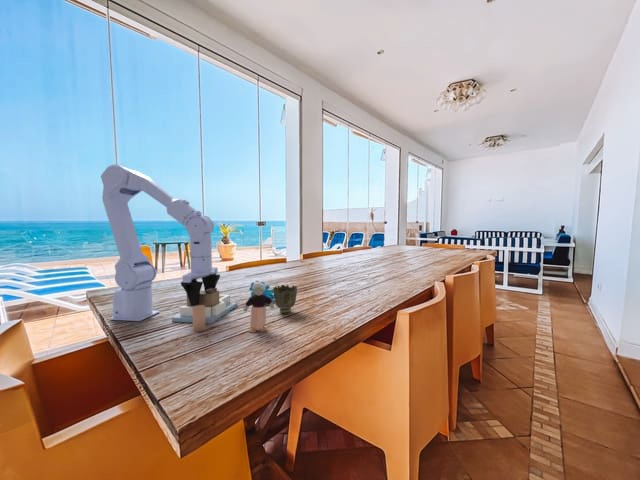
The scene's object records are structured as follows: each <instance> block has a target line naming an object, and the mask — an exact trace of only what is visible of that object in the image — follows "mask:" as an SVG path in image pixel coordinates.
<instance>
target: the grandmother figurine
mask: <svg viewBox="0 0 640 480" xmlns="http://www.w3.org/2000/svg"><path fill="white" fill-rule="evenodd" d="M261 282H262V281H261ZM261 282H260V281H259V282H256V281H254V284H253V287H252V289H253V291H254V294H255V295H253V296H251V295H250V298H248V300H247V301H246V302H245V305H244V307H243V312H244V313H245V312H247V311H248V309H249V307H250V306H252V307H251V311H250V320H249V321H250V322H249V323H250V325H249V326H250V328H249V329H248V333H249V334H251V333H253V334H254V333H256V332H257V330H258V332H266V331H267V327H266V319H267V318H266V317H267V315H266V314H267V313H266V312H267V310H266V304H269V305H268V306H269V308H270V309H274V308H275V305H274V302H273V303H272V300H271V299H270V298H269V297H267V296H265V295H262V294H263V292H264V291H265V287H266V286H265V284H263V283H261Z"/></svg>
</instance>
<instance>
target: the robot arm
mask: <svg viewBox="0 0 640 480" xmlns="http://www.w3.org/2000/svg"><path fill="white" fill-rule="evenodd" d="M100 179H101V183H102V185H103V189H102V196H101V197H102V198H101V199H102V203H103V206H104V209H105V212H106V216H107V219H108V223H109V226H110V229H111V232H112V235H113V238H114V242H115V245H116V248H117V249H116V250H117V252H118V255H119V259H118V260H117V262H116V263H115V265H114V269H115V274H114V281H115V283H116V285H117V286H118V288H117V289H116V290H115V291H114V293H113V295H112V317H110V320H111V321H128V322H129V321H130V322H140V321H143V320H145V319H147V318H150V317H152V316H154V315H156V314H159V313H160V310H153V309H154V308H153V286H152V285H153V281H154V280H155V279H156V278H157V277H156V276H157V270H156V267H155V266H154V265H153V264H152V262H151V260H150V258H149V257H148V256H147V255H145V254H144V253H143V252H142V247H141V244H140V242H139V241H140V240H139V237H138V234H137V232H136V227H135V225H134V224H135V223H134V221H133V218H132V214H131V211H130V210H131V209H130V207H129V204H128V203H129V202H130V201H131V199H133V198H134V197H136V196H137V195H138V194H139V193H142V192H144V193H145V194H147V195H148V196H149V197H150V198H153V199H154V200H155V201H157V202H158V203H159V204H161V205H163V206H164V207H165V208H166V213H167V214H168V215H169V216H170V217H171V218H172V219H174V220H176V222H178V223H180V224H181V225H182V226H183V227H185V231H186V233H188V234H189V244H190V245H189V249H190V271H189V272H187V273H185V274H183V275H182V281H180V285H181V287H182V288H183V290H184V291H185V293H186V296H187V295H188V298H189V301H190V304H191V306H196V305H199V299H200V290H202V286H203V287H204V291H205V290H207V289H210V288H217V284H218V282H219V279H221V274H218V272H219V271H218V267H217V266H216V267H215V266H214V267H213V265H212V264H213V262H212V261H213V260H212V259H213V257H212V256H213V255H212V232H213V231H214V227H215V225H214V222H213V220H212V219H211V218H210V217H209V216H206V215H202V214H203V212H201V211H200V210H196V208H194V207H193V206H191V205H190V201H188V200H186V199H182V198H174V197H173V196H171V195H170V194H169V193H168V192H167V190H166V191H165V190H164V189H163V187H161V186H160V185H159V184H157V182H155V181H154V180H152V178H151V177H149V176H148V175H145V174H144V173H143V172H142V171H138V170H133V169H130V168H127V167H125V166H122V165H120V164H111V165H108V166H107V167H106V168H105V170H104V171H103V172H102V173H101V175H100ZM198 279H201V281H198Z"/></svg>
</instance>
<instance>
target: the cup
mask: <svg viewBox="0 0 640 480" xmlns="http://www.w3.org/2000/svg"><path fill="white" fill-rule="evenodd" d="M272 289H273V295H274V299H273V300H274V303H275V305H276V307H277V308H278V309H279V313H280V314H282V315H283V314H284V315H288V314H290V313H291V312H292V308H293V307H294V306H295V305H296V300H297V293H298V287H297V285H296V286H295V285H292V286H290V285H288V284H287V285H284V284H281V286H279V285H277V286H274V287H273V288H272Z"/></svg>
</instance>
